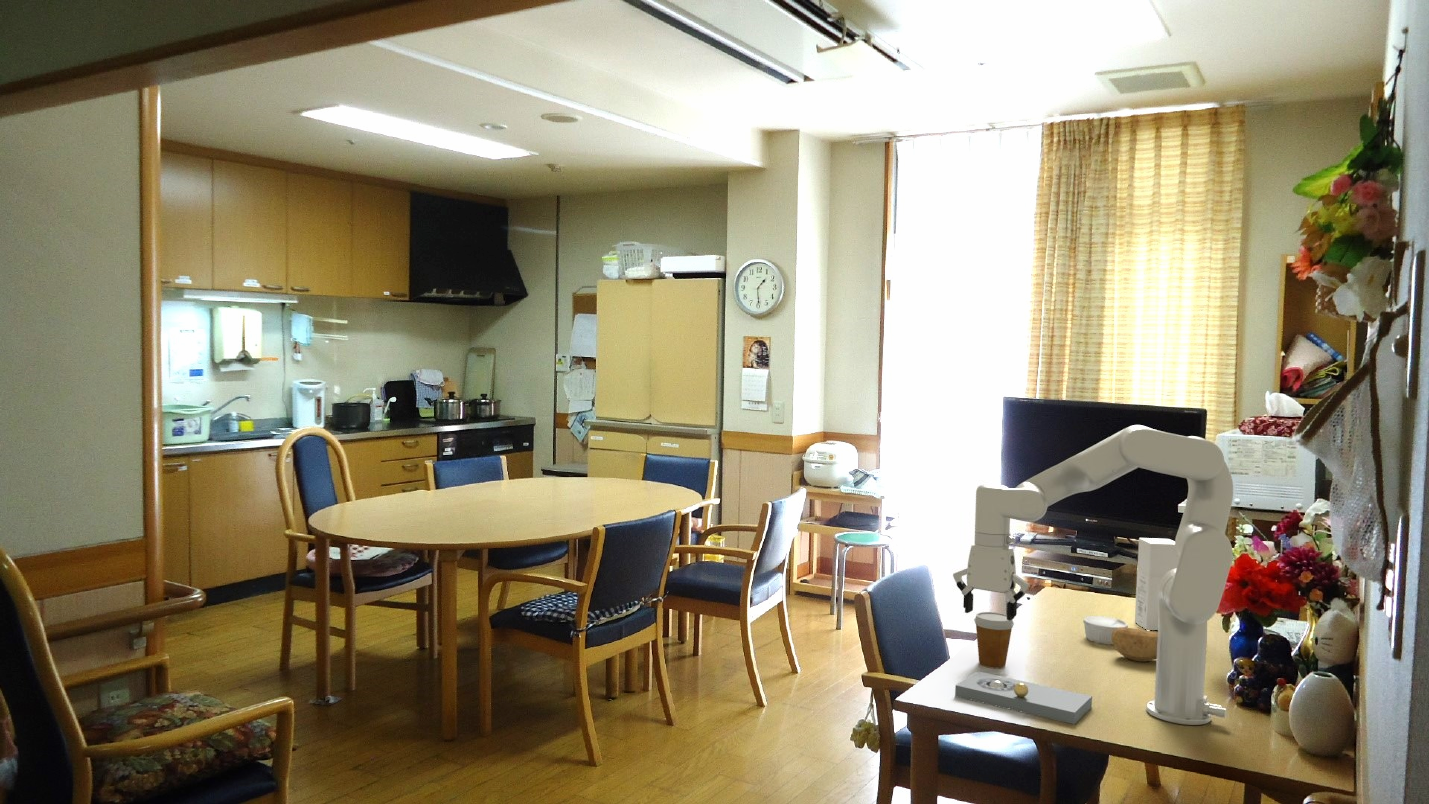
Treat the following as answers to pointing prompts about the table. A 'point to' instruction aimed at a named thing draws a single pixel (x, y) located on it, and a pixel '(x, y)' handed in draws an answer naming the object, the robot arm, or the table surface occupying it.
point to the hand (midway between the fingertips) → (989, 615)
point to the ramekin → (1101, 628)
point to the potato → (1135, 643)
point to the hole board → (1035, 702)
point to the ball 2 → (1021, 690)
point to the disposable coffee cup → (993, 638)
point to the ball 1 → (996, 684)
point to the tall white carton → (1152, 577)
